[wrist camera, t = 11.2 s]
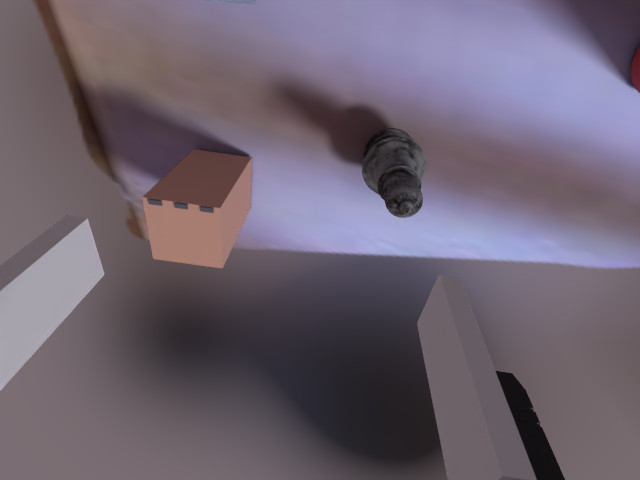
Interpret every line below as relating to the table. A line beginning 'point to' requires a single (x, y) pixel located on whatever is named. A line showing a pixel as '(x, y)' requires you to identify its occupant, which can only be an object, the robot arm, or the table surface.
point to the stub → (199, 208)
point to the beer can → (636, 70)
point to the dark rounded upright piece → (395, 171)
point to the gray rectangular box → (236, 1)
